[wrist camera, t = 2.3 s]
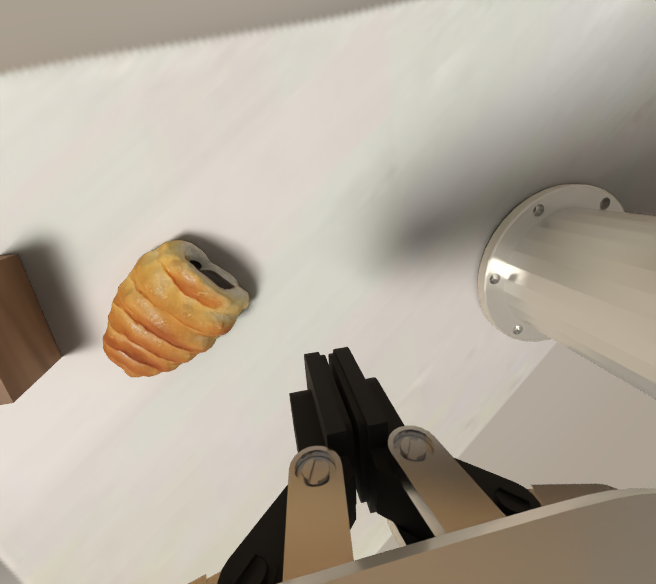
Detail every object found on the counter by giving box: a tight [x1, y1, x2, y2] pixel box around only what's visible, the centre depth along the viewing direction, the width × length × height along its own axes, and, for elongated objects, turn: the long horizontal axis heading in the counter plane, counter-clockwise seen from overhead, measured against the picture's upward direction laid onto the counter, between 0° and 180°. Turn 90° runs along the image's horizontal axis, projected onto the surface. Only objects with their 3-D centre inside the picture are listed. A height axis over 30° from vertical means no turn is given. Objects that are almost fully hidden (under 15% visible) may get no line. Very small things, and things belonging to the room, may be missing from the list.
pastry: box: [103, 240, 250, 377], centre depth 20 cm, size 9×7×4 cm
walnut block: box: [0, 254, 62, 405], centre depth 18 cm, size 1×7×4 cm, turn 4°
